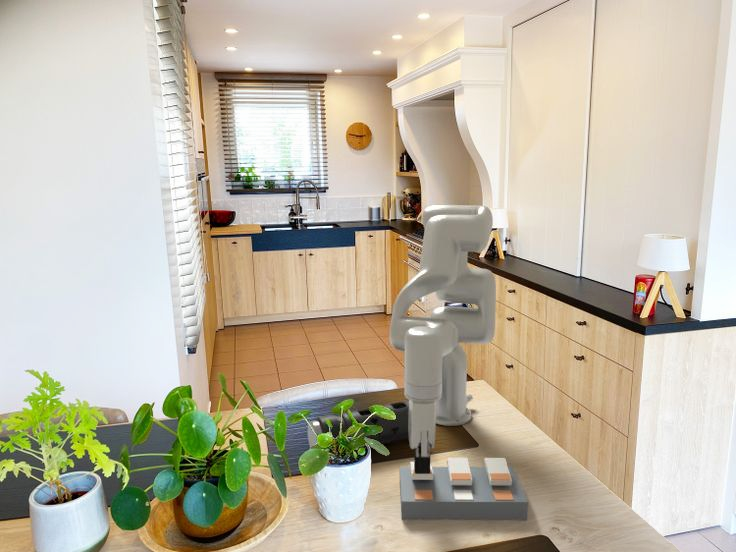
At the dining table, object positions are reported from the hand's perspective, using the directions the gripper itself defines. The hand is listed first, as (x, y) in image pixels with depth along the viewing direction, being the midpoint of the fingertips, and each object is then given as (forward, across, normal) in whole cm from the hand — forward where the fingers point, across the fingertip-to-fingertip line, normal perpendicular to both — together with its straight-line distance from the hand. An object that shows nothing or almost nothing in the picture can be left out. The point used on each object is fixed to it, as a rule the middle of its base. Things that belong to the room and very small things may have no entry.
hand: (422, 471), depth 116 cm
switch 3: (+3, -3, +16) cm, 17 cm away
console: (+7, -1, +8) cm, 11 cm away
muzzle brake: (+7, -23, -12) cm, 27 cm away
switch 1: (+3, -2, 0) cm, 4 cm away
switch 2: (+3, -3, +8) cm, 9 cm away
